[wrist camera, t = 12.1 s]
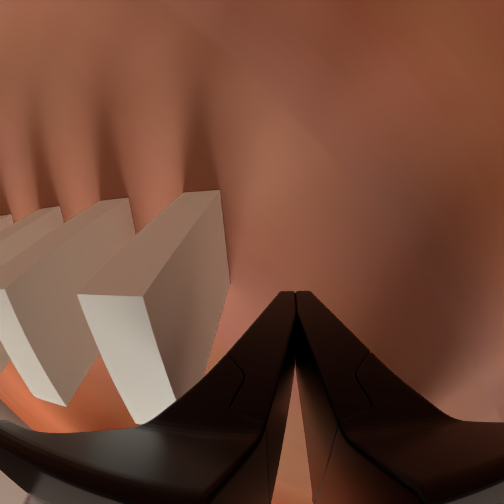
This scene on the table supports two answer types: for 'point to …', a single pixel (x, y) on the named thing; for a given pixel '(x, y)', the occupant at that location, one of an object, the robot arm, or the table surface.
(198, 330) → the domino
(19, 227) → the domino
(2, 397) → the table surface
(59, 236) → the domino
